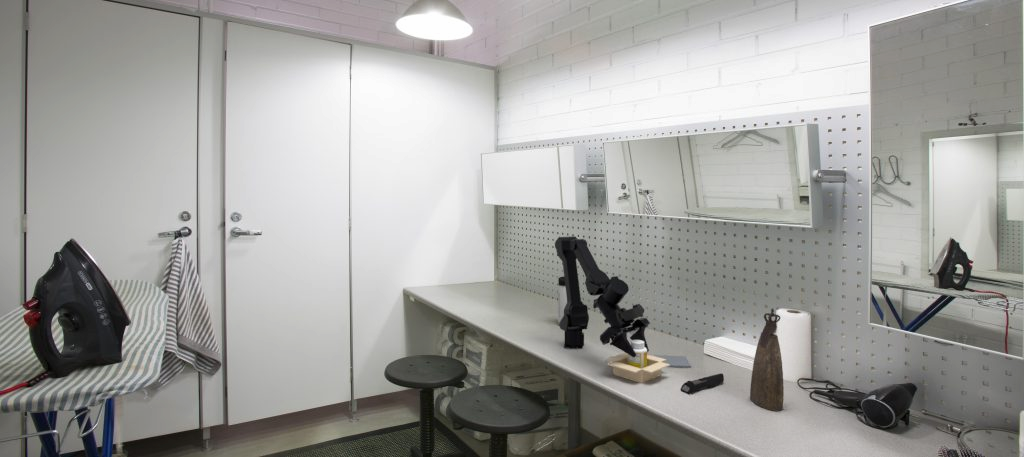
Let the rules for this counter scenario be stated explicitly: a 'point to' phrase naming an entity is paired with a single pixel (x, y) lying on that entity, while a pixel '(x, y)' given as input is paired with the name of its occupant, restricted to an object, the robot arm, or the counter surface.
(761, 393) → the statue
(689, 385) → the electric trimmer
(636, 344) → the supplement bottle
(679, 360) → the rubber mat
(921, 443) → the counter surface
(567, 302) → the robot arm
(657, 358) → the carton
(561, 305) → the travel mug
